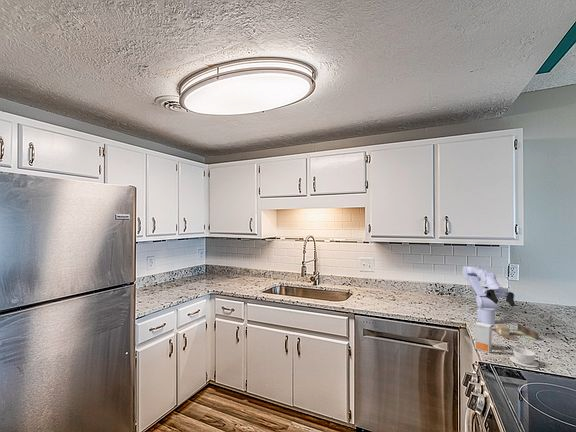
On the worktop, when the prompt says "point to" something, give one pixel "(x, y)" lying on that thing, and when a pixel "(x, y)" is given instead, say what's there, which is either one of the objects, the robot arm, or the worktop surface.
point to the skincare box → (483, 337)
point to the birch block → (502, 329)
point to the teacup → (524, 357)
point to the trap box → (521, 333)
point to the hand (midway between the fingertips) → (505, 303)
